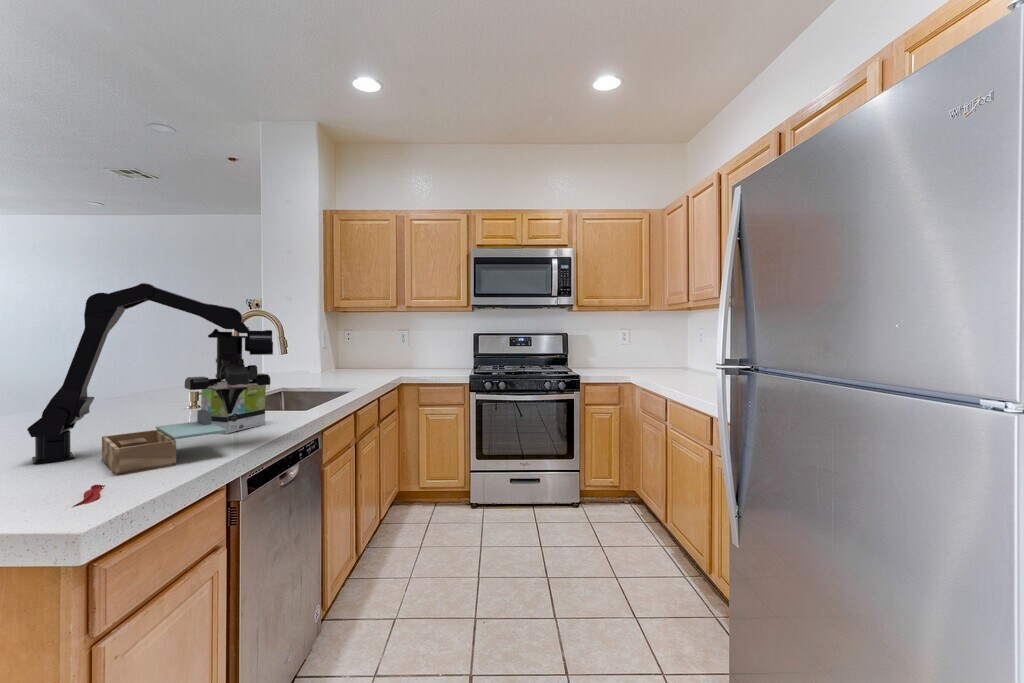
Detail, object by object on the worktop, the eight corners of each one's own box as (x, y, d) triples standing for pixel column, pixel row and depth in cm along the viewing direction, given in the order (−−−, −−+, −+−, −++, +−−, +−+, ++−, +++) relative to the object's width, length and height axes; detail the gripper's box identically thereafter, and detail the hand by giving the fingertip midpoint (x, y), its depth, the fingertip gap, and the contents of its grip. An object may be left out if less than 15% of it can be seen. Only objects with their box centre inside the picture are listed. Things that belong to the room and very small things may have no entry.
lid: (156, 428, 112) (156, 414, 112) (205, 422, 120) (205, 409, 120) (173, 439, 101) (173, 423, 101) (226, 432, 109) (226, 417, 109)
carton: (101, 460, 104) (101, 436, 104) (158, 451, 112) (158, 429, 112) (115, 475, 94) (114, 449, 94) (176, 465, 102) (176, 440, 102)
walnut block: (143, 457, 105) (143, 437, 105) (147, 460, 103) (147, 441, 102) (117, 461, 102) (117, 441, 102) (121, 465, 99) (121, 444, 99)
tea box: (228, 434, 132) (228, 384, 132) (199, 432, 134) (199, 382, 134) (266, 424, 147) (266, 378, 146) (239, 423, 149) (239, 377, 148)
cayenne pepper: (83, 510, 77) (83, 498, 77) (51, 512, 76) (50, 500, 76) (127, 486, 89) (127, 476, 89) (99, 487, 88) (99, 477, 88)
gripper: (197, 357, 108) (197, 422, 108) (279, 355, 122) (278, 413, 123) (184, 355, 115) (183, 416, 116) (262, 353, 130) (262, 408, 130)
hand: (229, 413), depth 121 cm, fingers closed
